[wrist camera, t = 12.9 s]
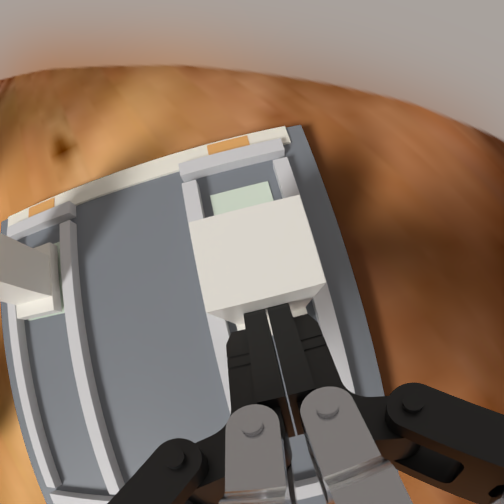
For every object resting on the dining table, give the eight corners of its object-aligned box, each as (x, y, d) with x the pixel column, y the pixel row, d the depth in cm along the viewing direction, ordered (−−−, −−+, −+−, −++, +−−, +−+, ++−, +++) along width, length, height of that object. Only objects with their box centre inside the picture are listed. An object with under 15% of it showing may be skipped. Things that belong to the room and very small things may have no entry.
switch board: (61, 504, 14) (43, 514, 12) (13, 228, 20) (-6, 218, 18) (390, 471, 14) (404, 485, 12) (299, 138, 20) (301, 116, 18)
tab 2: (242, 342, 15) (209, 345, 8) (223, 262, 16) (180, 196, 9) (308, 325, 15) (338, 312, 8) (287, 246, 16) (294, 168, 9)
